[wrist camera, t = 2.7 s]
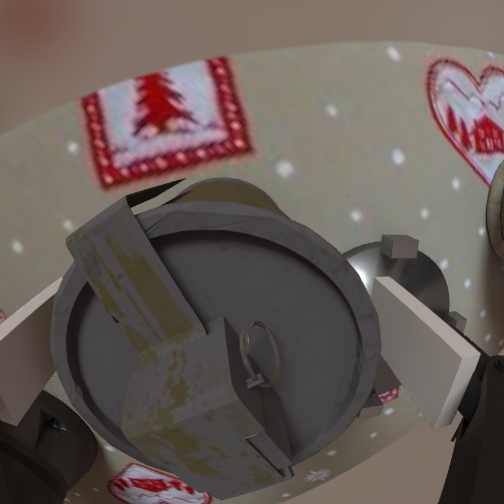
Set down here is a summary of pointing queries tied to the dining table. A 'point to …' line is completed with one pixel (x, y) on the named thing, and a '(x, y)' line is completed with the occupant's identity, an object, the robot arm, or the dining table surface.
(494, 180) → the vase
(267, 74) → the dining table surface
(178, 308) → the canister
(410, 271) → the flange
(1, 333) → the robot arm
